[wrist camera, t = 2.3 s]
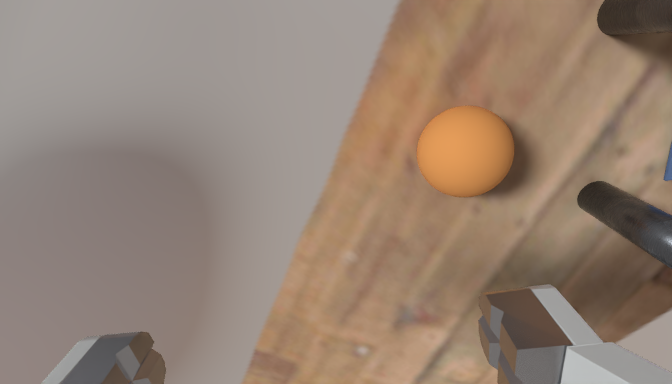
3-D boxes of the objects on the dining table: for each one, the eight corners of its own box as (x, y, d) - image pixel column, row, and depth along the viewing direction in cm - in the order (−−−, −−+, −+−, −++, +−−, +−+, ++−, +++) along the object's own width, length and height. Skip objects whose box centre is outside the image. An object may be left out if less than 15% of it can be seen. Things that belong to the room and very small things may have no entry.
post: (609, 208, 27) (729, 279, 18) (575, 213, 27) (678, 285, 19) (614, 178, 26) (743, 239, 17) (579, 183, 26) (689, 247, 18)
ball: (491, 171, 26) (531, 204, 20) (413, 184, 26) (432, 219, 21) (490, 92, 23) (536, 105, 18) (405, 108, 24) (424, 125, 18)
